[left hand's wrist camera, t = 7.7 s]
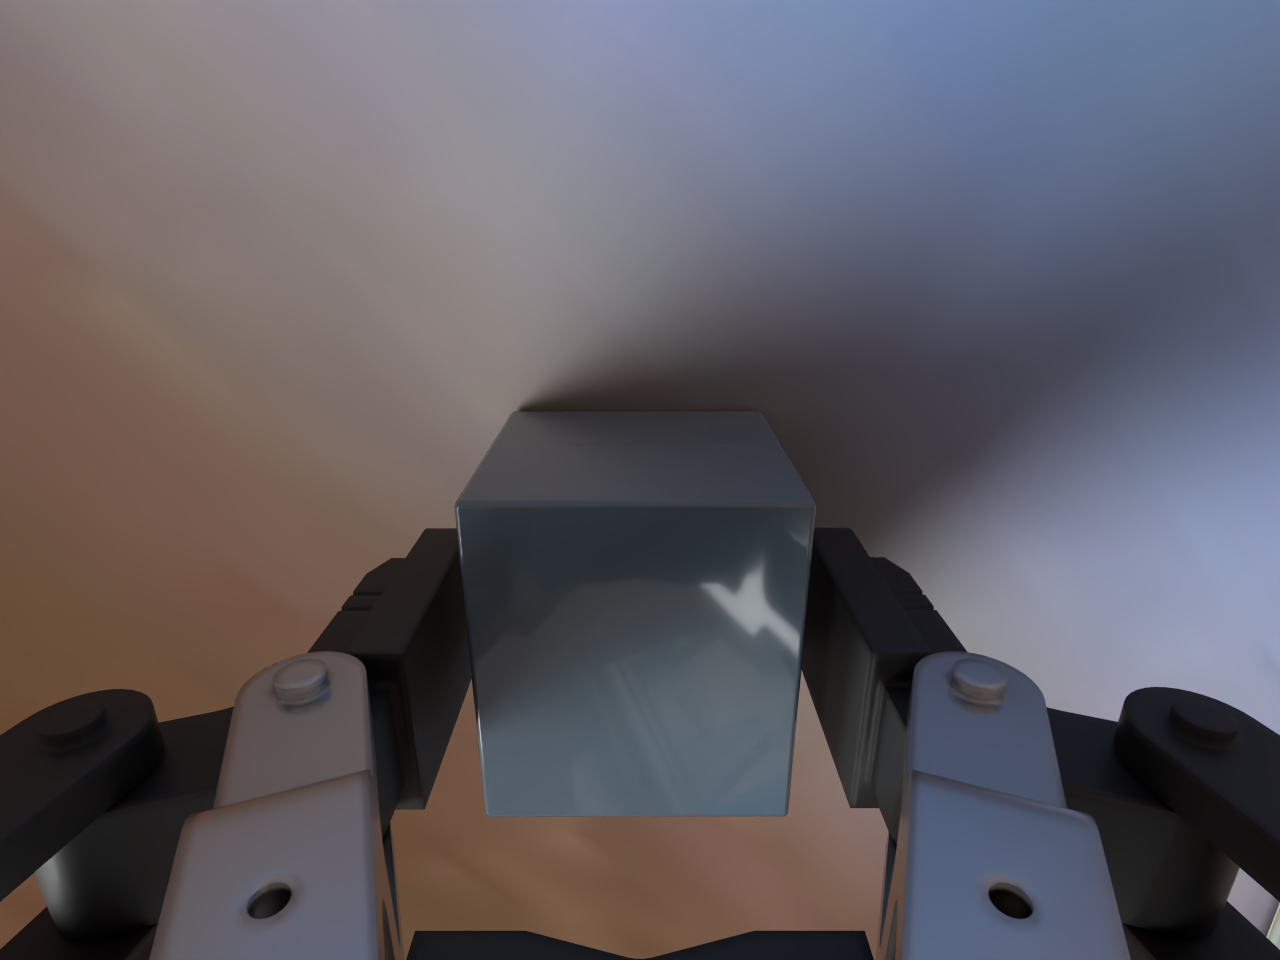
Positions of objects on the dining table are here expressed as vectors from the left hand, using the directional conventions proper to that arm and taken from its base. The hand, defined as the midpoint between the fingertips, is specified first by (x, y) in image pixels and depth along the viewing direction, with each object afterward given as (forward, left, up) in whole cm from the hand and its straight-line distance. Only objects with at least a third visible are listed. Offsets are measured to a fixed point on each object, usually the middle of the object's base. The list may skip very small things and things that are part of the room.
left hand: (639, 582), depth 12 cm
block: (0, 0, -2) cm, 2 cm away
